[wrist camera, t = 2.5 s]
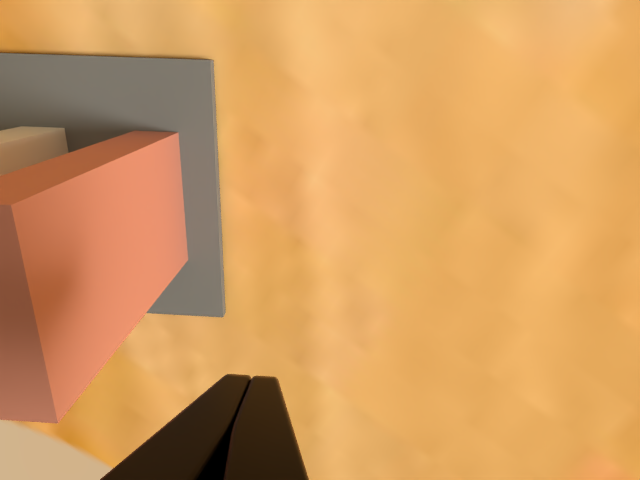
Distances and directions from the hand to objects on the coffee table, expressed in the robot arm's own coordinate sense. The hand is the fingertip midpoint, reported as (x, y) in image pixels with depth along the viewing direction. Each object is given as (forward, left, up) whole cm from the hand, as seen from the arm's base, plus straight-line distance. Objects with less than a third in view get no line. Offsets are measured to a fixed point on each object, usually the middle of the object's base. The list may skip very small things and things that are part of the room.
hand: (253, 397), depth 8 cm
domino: (-3, +5, -11) cm, 12 cm away
